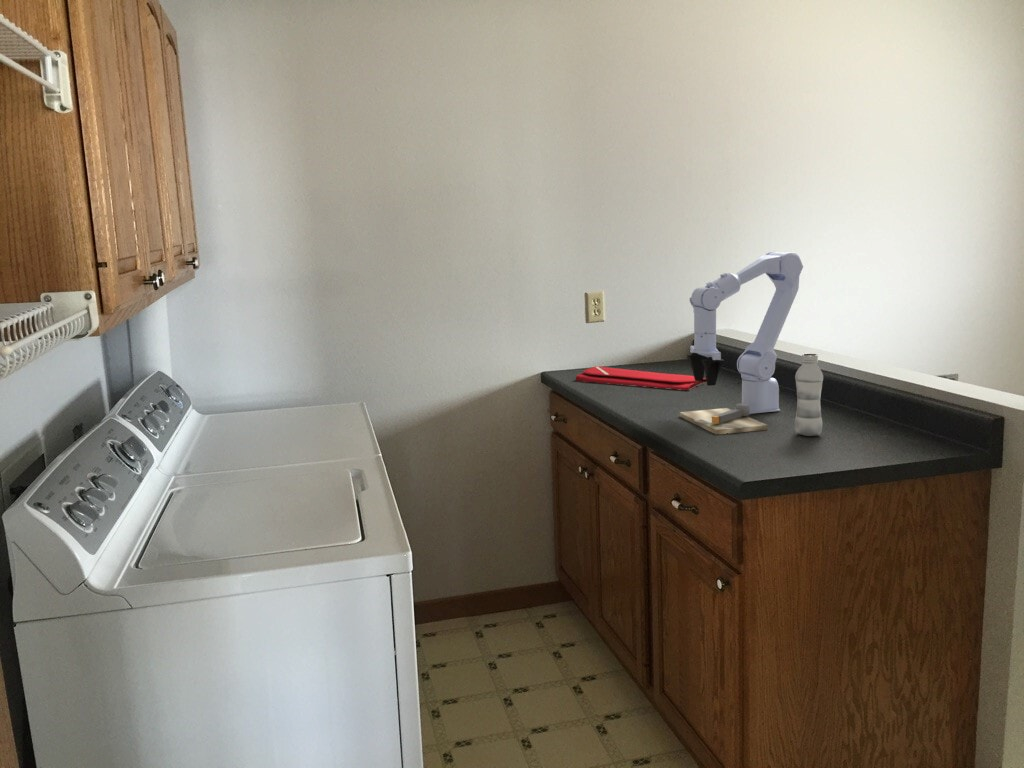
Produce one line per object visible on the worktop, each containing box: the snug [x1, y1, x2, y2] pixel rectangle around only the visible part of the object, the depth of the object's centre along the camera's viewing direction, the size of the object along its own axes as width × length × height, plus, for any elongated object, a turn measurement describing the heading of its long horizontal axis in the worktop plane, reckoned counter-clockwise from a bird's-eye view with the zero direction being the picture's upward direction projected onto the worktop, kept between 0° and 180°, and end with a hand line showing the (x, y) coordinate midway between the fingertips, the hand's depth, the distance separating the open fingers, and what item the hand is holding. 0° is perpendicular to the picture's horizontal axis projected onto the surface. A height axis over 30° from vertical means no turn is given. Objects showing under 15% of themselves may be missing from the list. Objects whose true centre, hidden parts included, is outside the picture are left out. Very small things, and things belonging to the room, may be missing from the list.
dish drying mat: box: [575, 365, 706, 391], centre depth 298 cm, size 16×41×4 cm, turn 55°
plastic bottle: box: [793, 353, 824, 437], centre depth 220 cm, size 6×7×20 cm
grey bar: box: [712, 402, 751, 424], centre depth 235 cm, size 15×4×3 cm, turn 133°
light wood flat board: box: [679, 407, 768, 435], centre depth 237 cm, size 15×23×1 cm, turn 14°
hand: (705, 382), depth 243 cm, fingers open, 7 cm apart
